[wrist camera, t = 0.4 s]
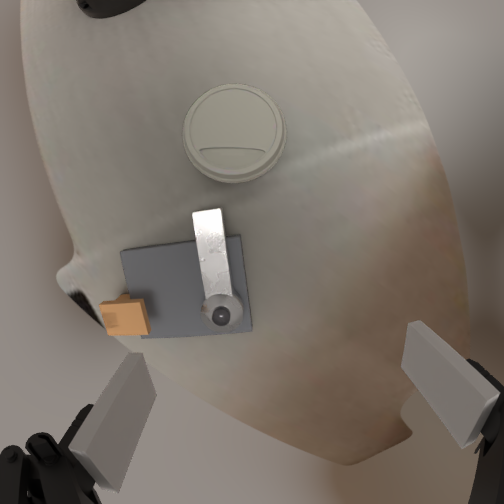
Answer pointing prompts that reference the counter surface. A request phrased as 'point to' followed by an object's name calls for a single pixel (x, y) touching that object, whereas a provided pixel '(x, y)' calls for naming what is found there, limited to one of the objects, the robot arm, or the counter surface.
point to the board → (179, 286)
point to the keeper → (125, 316)
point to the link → (216, 273)
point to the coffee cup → (234, 133)
